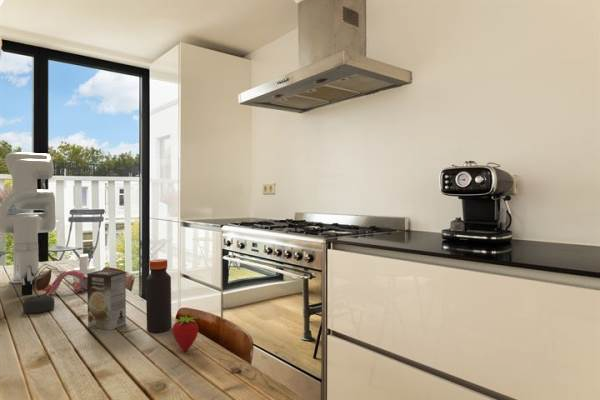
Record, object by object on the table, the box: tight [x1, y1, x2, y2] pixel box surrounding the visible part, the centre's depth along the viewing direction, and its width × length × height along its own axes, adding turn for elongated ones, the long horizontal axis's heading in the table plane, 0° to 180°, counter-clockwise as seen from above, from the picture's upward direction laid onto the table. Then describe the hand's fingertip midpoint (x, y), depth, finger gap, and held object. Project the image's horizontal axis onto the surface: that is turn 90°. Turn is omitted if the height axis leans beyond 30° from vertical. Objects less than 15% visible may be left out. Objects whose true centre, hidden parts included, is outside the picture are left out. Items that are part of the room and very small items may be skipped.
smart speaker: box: [22, 296, 55, 315], centre depth 130 cm, size 9×9×4 cm
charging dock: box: [79, 274, 87, 291], centre depth 161 cm, size 15×2×5 cm, turn 46°
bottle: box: [145, 258, 173, 334], centre depth 110 cm, size 7×7×20 cm
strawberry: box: [172, 311, 199, 352], centre depth 94 cm, size 6×8×10 cm
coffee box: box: [86, 269, 127, 331], centre depth 114 cm, size 9×6×16 cm
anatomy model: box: [32, 263, 85, 297], centre depth 155 cm, size 11×15×17 cm
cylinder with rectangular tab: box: [72, 253, 96, 283], centre depth 176 cm, size 9×9×12 cm
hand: (27, 294), depth 147 cm, fingers closed
